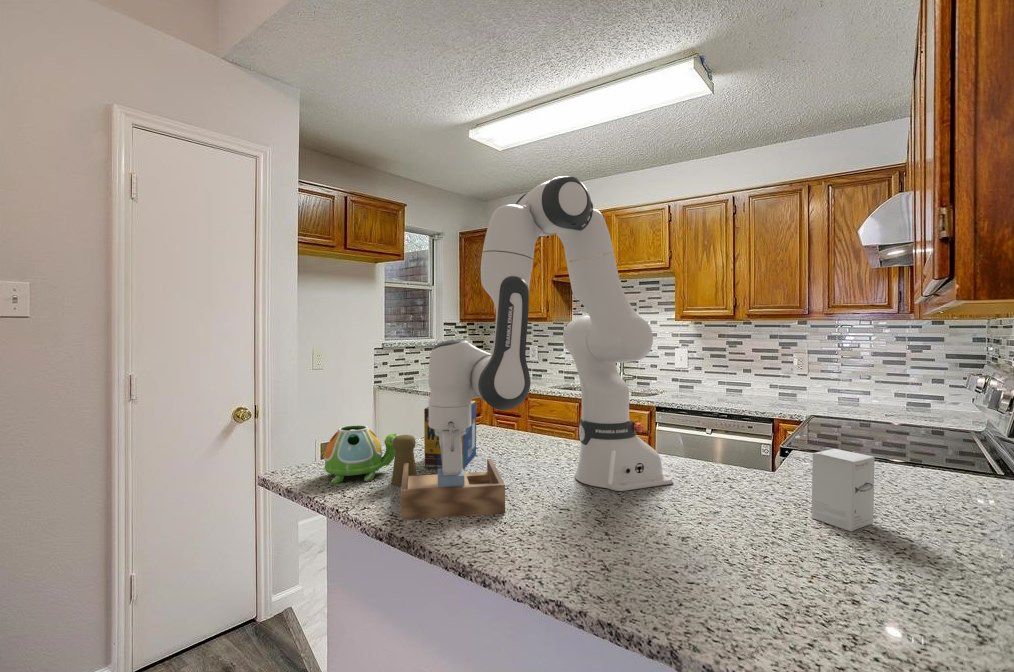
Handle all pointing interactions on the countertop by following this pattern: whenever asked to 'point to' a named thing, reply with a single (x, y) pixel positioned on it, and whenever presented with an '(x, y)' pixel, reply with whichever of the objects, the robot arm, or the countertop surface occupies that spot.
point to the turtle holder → (357, 453)
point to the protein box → (434, 446)
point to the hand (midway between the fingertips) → (450, 484)
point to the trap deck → (452, 495)
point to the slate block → (450, 479)
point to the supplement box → (843, 488)
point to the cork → (403, 457)
